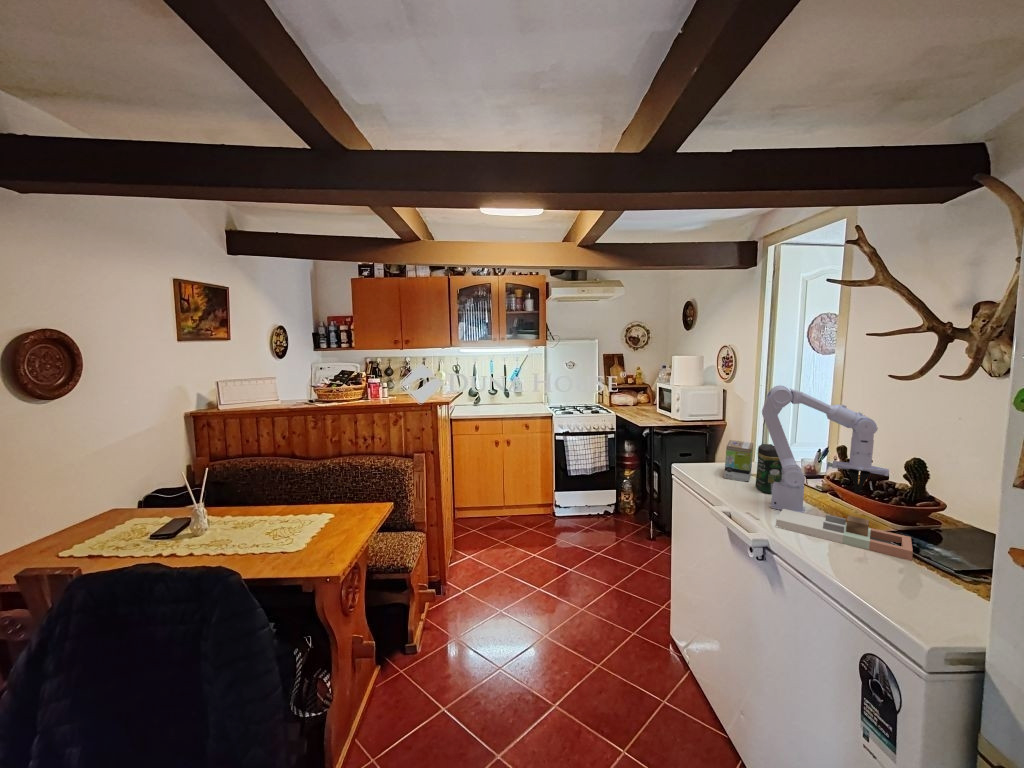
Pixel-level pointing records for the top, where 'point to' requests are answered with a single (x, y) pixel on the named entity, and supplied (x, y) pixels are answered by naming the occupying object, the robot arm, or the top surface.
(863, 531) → the walnut block
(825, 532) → the board
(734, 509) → the top surface
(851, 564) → the top surface
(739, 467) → the tea box
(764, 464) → the coffee jar
